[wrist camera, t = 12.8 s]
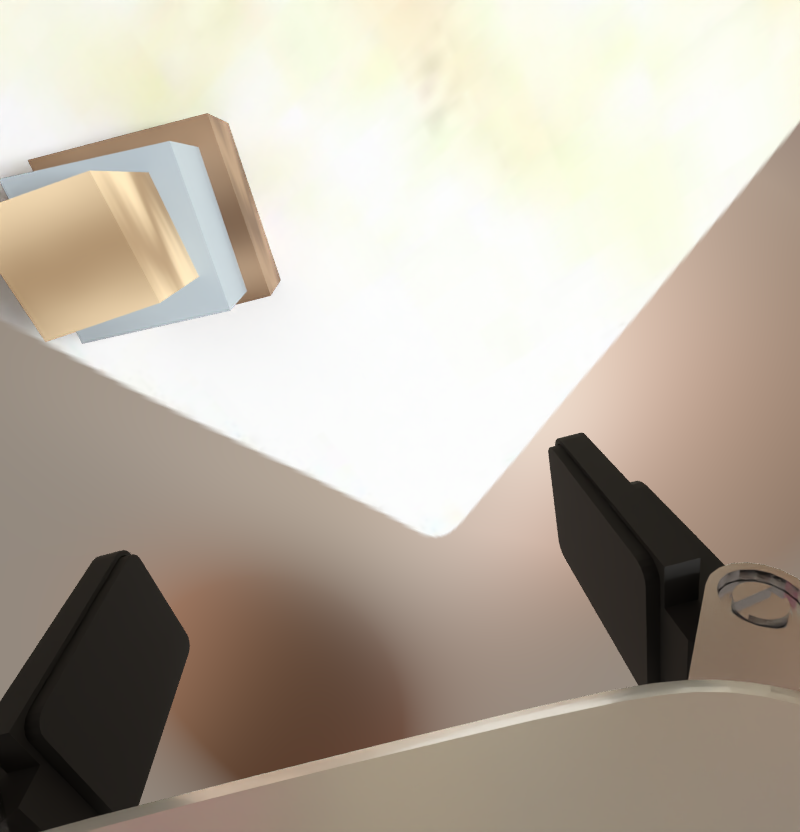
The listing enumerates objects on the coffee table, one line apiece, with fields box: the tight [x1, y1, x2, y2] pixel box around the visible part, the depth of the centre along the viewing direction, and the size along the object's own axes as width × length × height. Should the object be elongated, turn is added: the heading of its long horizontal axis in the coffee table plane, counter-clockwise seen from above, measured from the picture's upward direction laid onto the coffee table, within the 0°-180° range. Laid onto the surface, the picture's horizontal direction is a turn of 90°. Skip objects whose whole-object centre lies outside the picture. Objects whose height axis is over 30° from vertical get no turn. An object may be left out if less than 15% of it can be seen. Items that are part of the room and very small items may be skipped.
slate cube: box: [0, 141, 247, 344], centre depth 27 cm, size 8×8×5 cm
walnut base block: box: [28, 113, 280, 305], centre depth 31 cm, size 10×10×6 cm
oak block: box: [0, 171, 199, 342], centre depth 22 cm, size 5×5×6 cm
